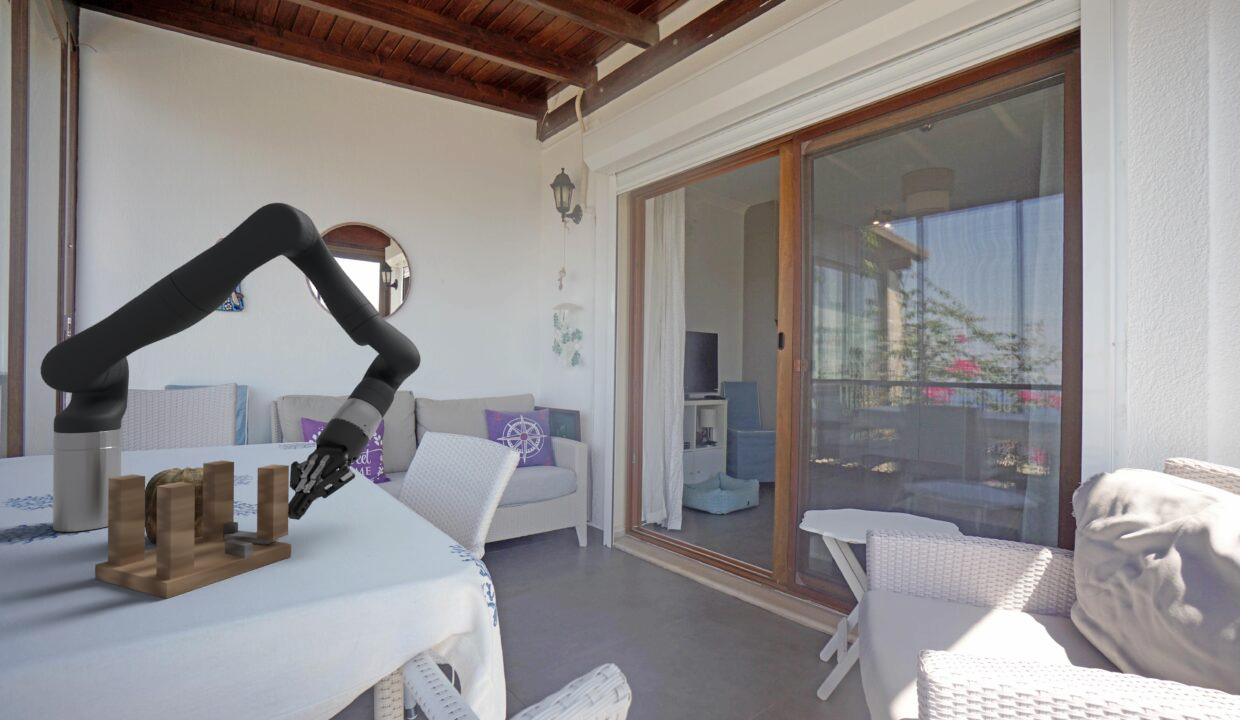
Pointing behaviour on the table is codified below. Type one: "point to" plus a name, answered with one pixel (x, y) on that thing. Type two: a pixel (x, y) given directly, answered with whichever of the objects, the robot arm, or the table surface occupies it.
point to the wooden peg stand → (178, 536)
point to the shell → (167, 478)
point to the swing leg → (266, 508)
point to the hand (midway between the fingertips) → (291, 516)
